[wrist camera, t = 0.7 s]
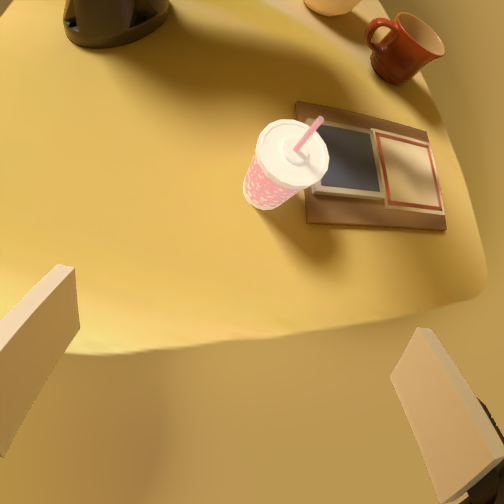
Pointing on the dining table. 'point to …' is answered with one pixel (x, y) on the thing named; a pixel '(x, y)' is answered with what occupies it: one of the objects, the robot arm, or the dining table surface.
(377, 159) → the stamp board
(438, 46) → the mug
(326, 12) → the lidded jar
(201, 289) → the dining table surface
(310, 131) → the beverage cup
